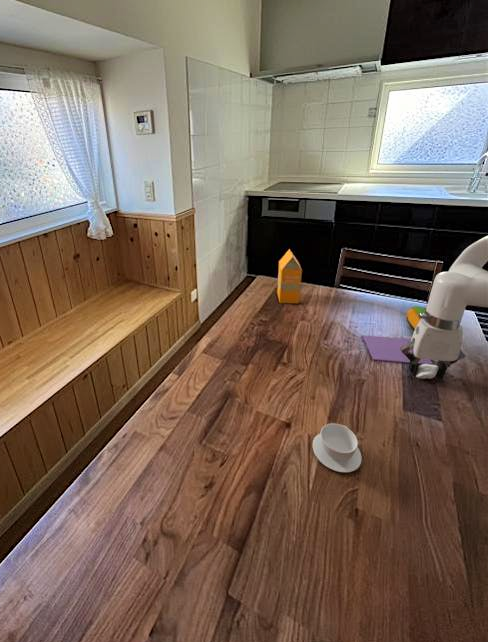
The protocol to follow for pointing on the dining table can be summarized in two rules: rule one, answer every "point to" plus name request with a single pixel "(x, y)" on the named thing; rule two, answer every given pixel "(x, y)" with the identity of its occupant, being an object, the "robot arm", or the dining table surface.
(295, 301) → the orange juice
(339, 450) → the teacup
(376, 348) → the cloth
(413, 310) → the corn
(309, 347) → the dining table surface
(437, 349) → the robot arm
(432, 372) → the dumpling
